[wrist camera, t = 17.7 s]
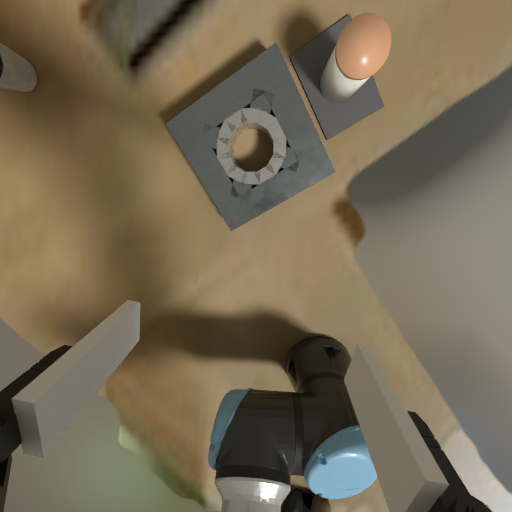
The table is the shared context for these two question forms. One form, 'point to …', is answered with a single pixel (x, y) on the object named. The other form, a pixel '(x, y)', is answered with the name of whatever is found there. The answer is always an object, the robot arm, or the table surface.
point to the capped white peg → (355, 56)
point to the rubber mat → (309, 72)
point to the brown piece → (296, 507)
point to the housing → (252, 117)
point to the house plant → (16, 71)
